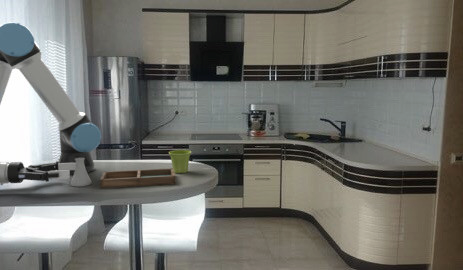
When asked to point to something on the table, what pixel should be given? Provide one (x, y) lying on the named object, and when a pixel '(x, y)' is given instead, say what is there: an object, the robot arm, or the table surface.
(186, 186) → the table surface
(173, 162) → the plant pot
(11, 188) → the table surface
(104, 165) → the table surface
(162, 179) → the walnut caddy
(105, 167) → the table surface
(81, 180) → the flask
